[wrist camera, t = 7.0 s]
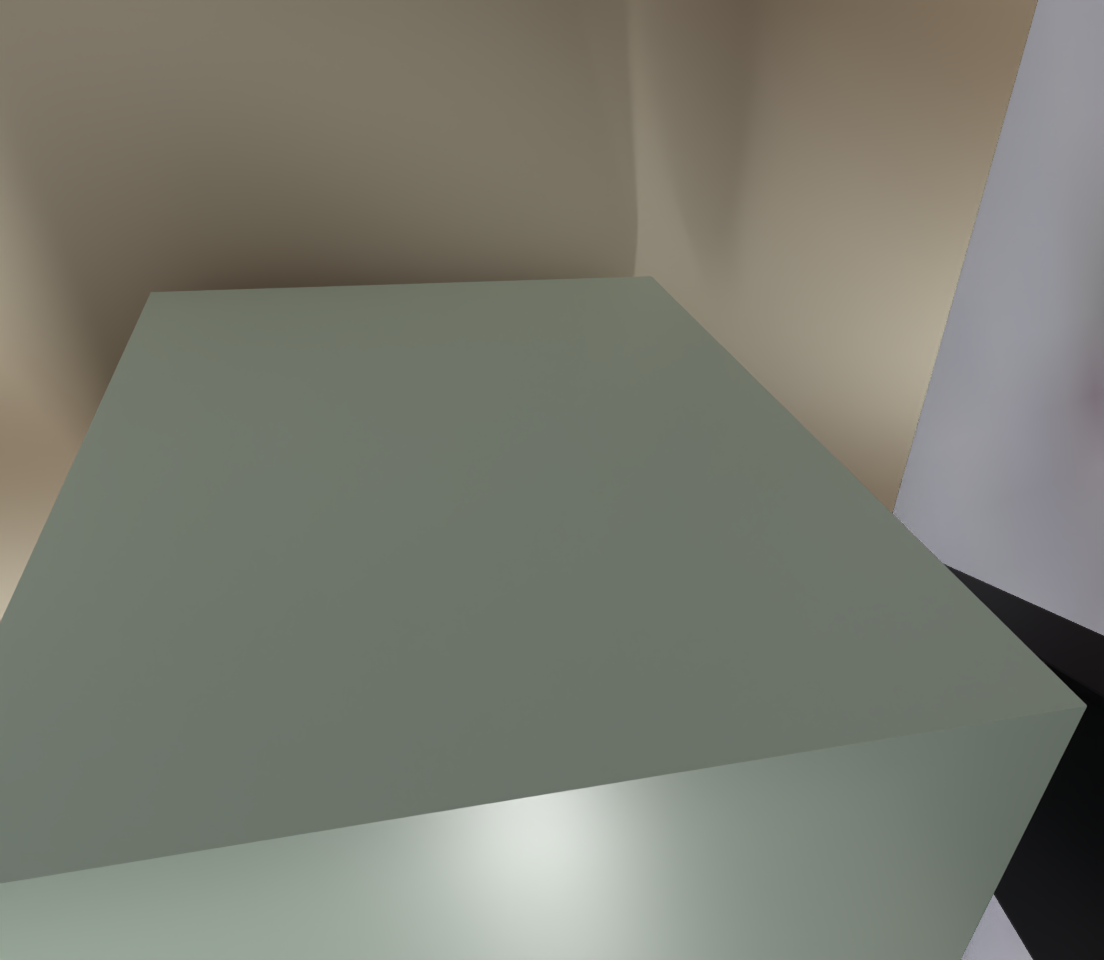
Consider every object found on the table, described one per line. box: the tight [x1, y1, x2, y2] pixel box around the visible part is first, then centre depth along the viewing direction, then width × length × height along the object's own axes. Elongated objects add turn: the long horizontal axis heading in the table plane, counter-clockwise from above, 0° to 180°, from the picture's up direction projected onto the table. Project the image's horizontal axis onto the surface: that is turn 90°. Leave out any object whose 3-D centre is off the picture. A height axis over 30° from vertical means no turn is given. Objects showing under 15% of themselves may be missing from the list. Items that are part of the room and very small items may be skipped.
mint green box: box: [0, 276, 1087, 960], centre depth 8 cm, size 5×5×7 cm
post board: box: [0, 0, 1038, 622], centre depth 11 cm, size 14×14×1 cm
